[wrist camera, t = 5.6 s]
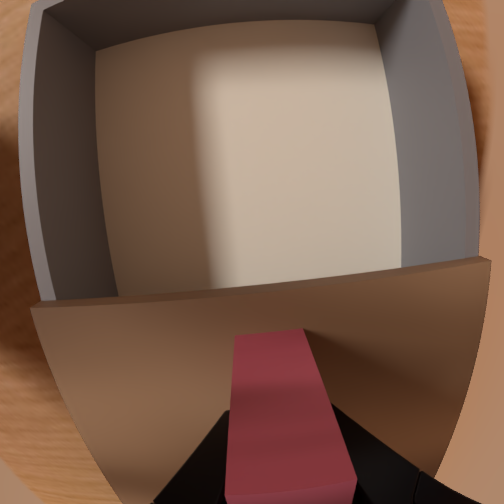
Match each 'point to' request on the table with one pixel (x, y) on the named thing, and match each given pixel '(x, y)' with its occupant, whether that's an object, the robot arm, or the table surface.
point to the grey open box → (241, 143)
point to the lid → (269, 376)
